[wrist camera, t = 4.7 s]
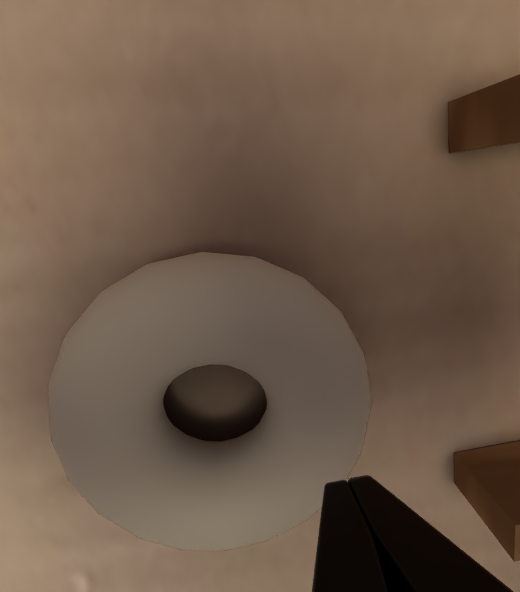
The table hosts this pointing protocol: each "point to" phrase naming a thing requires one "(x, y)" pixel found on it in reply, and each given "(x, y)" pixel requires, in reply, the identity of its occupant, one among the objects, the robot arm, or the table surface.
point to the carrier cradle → (516, 455)
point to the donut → (194, 353)
